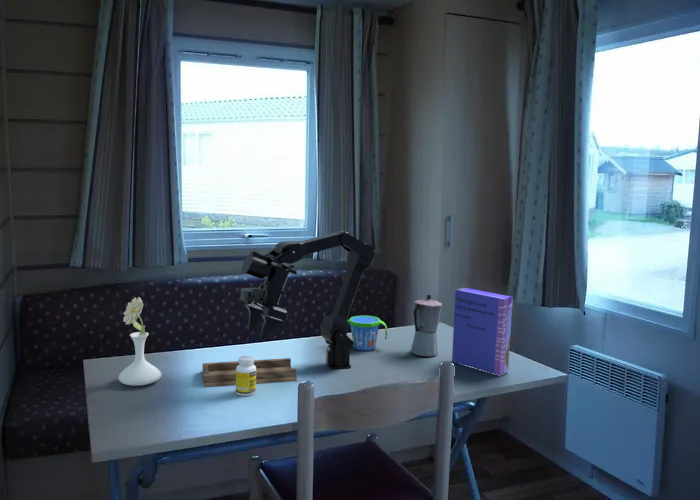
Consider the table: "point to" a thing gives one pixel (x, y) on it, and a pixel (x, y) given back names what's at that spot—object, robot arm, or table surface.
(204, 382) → the walnut track
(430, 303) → the moka pot
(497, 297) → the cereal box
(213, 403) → the table surface
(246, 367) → the supplement bottle
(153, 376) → the flower in vase
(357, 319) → the snack cup
